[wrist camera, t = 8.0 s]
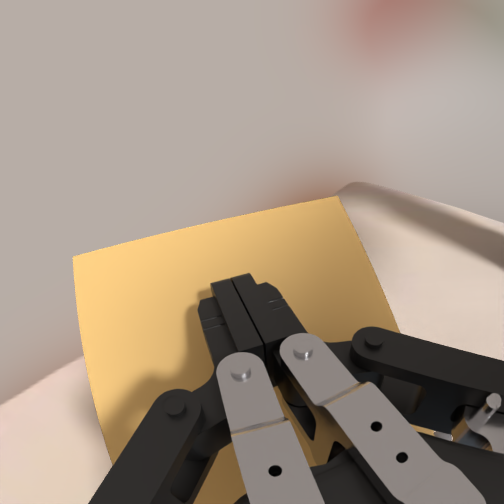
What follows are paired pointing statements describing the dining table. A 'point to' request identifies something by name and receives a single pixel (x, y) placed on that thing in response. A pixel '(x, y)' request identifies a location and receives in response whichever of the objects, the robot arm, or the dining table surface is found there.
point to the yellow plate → (198, 287)
